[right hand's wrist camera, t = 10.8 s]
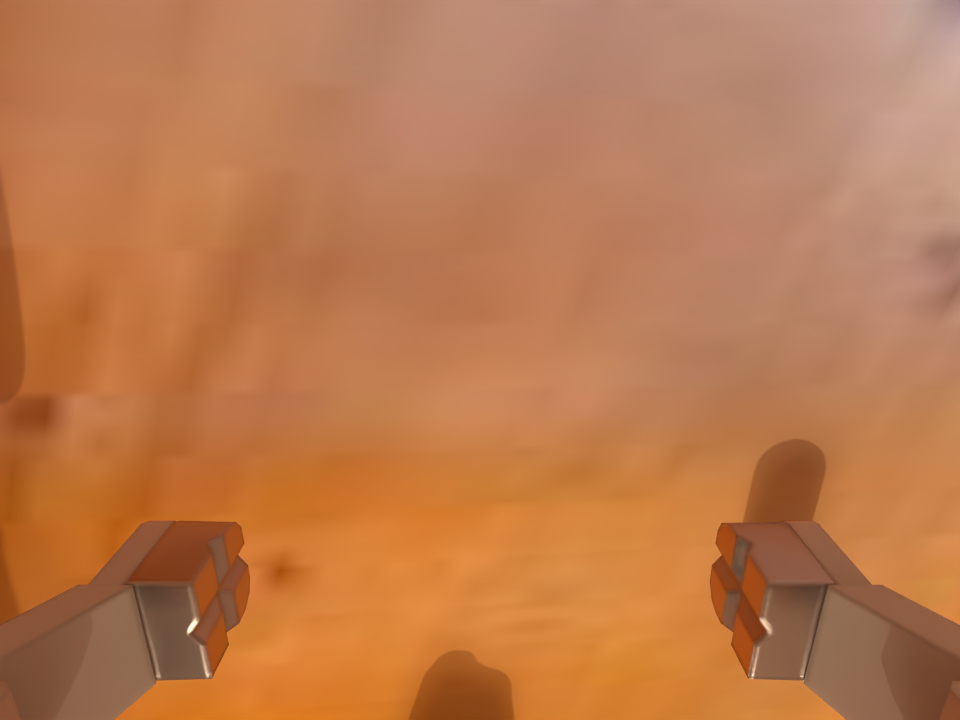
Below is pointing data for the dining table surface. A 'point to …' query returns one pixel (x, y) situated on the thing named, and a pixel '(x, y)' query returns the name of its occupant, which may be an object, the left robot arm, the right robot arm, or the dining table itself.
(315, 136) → the dining table surface
